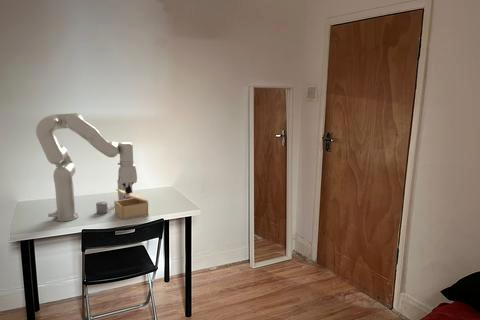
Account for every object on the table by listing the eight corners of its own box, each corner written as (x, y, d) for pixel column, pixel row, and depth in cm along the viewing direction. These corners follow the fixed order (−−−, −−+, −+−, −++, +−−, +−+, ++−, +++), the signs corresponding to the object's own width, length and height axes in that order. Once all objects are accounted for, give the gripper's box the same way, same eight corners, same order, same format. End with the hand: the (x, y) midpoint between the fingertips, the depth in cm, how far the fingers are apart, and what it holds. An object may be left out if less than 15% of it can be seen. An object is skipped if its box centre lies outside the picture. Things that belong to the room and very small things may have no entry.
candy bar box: (126, 198, 257) (125, 175, 253) (132, 199, 256) (132, 176, 252) (117, 203, 246) (117, 179, 242) (124, 203, 245) (124, 180, 241)
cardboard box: (122, 219, 217) (122, 207, 216) (114, 213, 227) (114, 201, 226) (148, 214, 227) (148, 202, 225) (139, 208, 237) (139, 197, 235)
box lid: (124, 195, 215) (124, 194, 215) (116, 190, 225) (116, 188, 225) (148, 202, 225) (148, 200, 225) (139, 196, 235) (140, 195, 235)
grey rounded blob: (98, 215, 223) (98, 205, 222) (95, 212, 228) (94, 202, 227) (109, 213, 227) (108, 203, 226) (105, 210, 232) (105, 201, 231)
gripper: (116, 166, 212) (118, 196, 216) (141, 163, 221) (142, 192, 225) (112, 163, 218) (113, 193, 221) (136, 160, 226) (137, 189, 230)
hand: (128, 193), depth 223 cm, fingers closed
